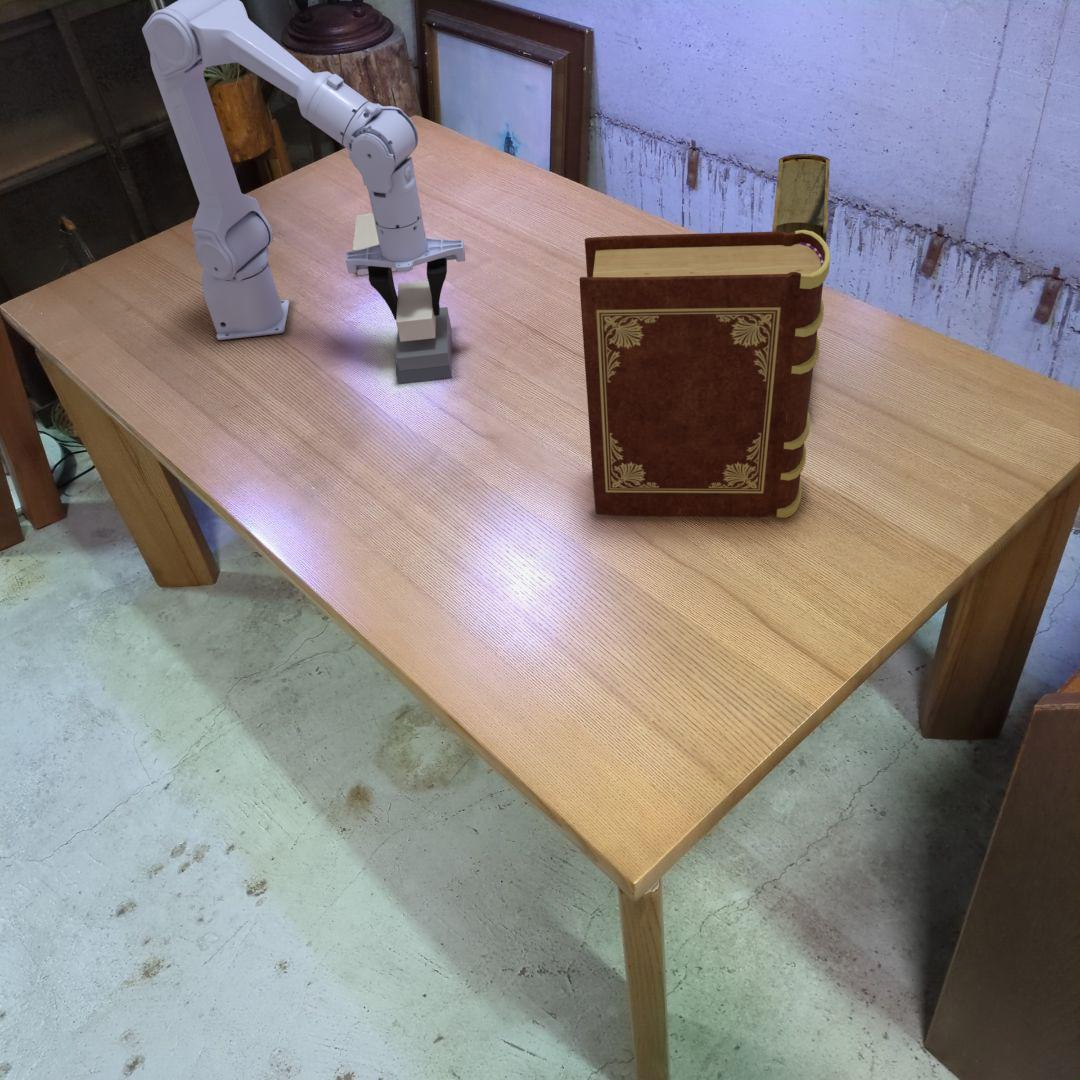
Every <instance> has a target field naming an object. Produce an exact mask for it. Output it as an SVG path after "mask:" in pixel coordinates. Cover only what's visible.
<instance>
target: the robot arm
mask: <svg viewBox="0 0 1080 1080" xmlns="http://www.w3.org/2000/svg"><path fill="white" fill-rule="evenodd" d="M141 31H142V34H143V38H144V39H145V43H146V46H147V48H148V51H149V56H150V57H149V59H150V66H151V69H152V70H151V71H152V73H153V75H154V79H155V81H156V84H157V87H158V89H159V92H160V96H161V98H162V101H163V105H164V106H165V110H166V112H167V115H168V119H169V121H170V123H171V126H172V129H173V132H174V134H175V137H176V140H177V143H178V146H179V149H180V152H181V154H182V157H183V161H184V163H185V165H186V169H187V171H188V174H189V177H190V180H191V182H192V186H193V188H194V191H195V193H196V196H197V199H198V202H199V205H198V208H197V210H196V213H195V216H194V219H193V221H192V224H191V229H190V230H191V232H192V234H193V238H194V248H193V249H194V254H195V257H196V260H197V261H198V262H197V263H199V265H200V266H201V268H202V269H203V270H202V273H201V288H202V289H201V290H202V294H203V297H204V302H205V304H206V306H207V309H208V312H209V315H210V318H211V320H212V323H213V326H214V329H215V331H216V339H217V340H218V341H224V340H233V339H243V338H251V337H252V338H253V337H261V336H268V335H278V334H283V333H284V332H285V331H286V325H287V320H288V314H289V309H290V305H291V304H290V303H291V302H290V300H289V299H282V300H281V299H280V296H279V292H278V289H277V286H276V282H275V278H274V276H273V272H272V269H271V266H270V262H269V256H270V255H271V253H270V250H269V246H270V245H271V244H272V242H273V238H274V235H273V234H274V233H273V229H272V227H271V224H270V222H269V220H268V219H267V218H266V216H265V215H264V214H263V211H262V210H261V208H260V204H259V202H258V200H257V199H256V198H255V197H253V196H250V195H249V194H245V193H242V191H241V188H240V184H239V182H238V179H237V175H236V171H235V169H234V166H233V163H232V160H231V157H230V154H229V150H228V147H227V143H226V141H225V139H224V134H223V132H222V129H221V125H220V122H219V120H218V117H217V116H218V115H217V112H216V110H215V108H214V104H213V101H212V98H211V95H210V92H209V89H208V88H209V87H208V86H207V82H206V79H205V77H204V72H205V70H206V69H207V68H209V67H215V66H221V65H227V64H235V63H237V64H239V65H241V66H242V67H244V68H246V69H247V70H248V71H250V72H252V73H254V74H255V75H257V76H258V77H260V78H261V79H263V80H264V81H267V82H268V83H269V84H271V85H273V86H274V87H276V88H278V89H279V90H281V91H283V92H284V93H286V94H287V95H289V96H291V97H292V98H294V99H295V100H296V102H297V106H298V109H299V112H300V115H301V116H302V117H303V119H305V120H307V121H308V122H310V123H311V124H312V125H313V126H315V127H316V128H317V129H319V130H320V131H322V132H323V133H325V134H326V135H328V136H329V137H330V138H332V139H333V140H335V141H336V142H337V143H339V144H340V145H341V146H343V147H344V148H345V149H346V150H348V151H347V154H348V156H349V159H350V161H351V163H352V165H353V167H355V169H356V170H357V171H358V172H359V174H360V176H361V178H362V182H363V185H364V186H365V187H366V189H367V193H368V197H369V202H370V205H371V206H370V207H371V211H372V213H373V216H374V221H375V226H376V230H377V235H378V240H379V244H378V245H375V246H371V247H368V248H364V249H361V250H357V251H352V250H351V251H346V253H345V264H346V268H347V272H348V273H347V274H351V275H352V274H357V271H358V270H363V269H368V272H369V274H368V282H369V284H370V285H371V287H372V288H373V289H374V290H375V291H376V292H377V293H378V294H379V295H380V296H381V298H382V299H383V300H384V302H385V303H386V305H387V306H388V308H389V310H390V312H391V314H392V317H393V319H394V320H395V321H396V316H397V299H398V292H397V290H396V287H395V282H394V281H395V280H394V275H393V272H392V269H391V268H396V271H395V272H397V273H401V272H410V271H413V269H414V267H416V266H419V265H422V264H426V278H427V280H428V282H429V286H430V291H431V296H432V306H433V311H434V316H438V315H440V308H441V307H440V306H441V305H440V301H441V294H442V289H443V286H444V283H445V281H446V278H447V273H448V261H453V260H456V262H457V263H462V262H465V261H466V250H465V244H464V243H465V241H464V239H443V238H442V239H441V238H429V237H427V235H426V231H425V223H424V218H423V213H422V207H421V202H420V196H419V191H418V186H417V179H416V174H415V167H414V163H413V158H412V154H413V153H414V152H415V150H416V149H417V147H418V143H419V133H418V130H417V127H416V125H415V123H414V122H413V120H412V119H411V118H410V116H408V115H407V114H406V113H405V112H404V111H403V110H402V108H399V107H397V106H394V105H393V106H392V105H386V106H385V105H381V104H380V103H373V102H371V101H370V100H369V99H367V98H365V97H364V96H363V95H362V94H361V93H359V92H357V91H356V90H355V89H353V88H352V87H350V86H349V85H348V84H346V83H345V82H344V79H343V78H342V77H341V76H339V75H338V74H336V73H334V74H333V73H331V72H330V71H321V72H312V71H311V70H310V69H309V68H308V67H306V66H305V65H304V64H303V63H302V62H301V61H299V60H298V58H296V57H295V56H294V55H292V54H291V53H290V52H289V51H287V50H286V49H285V48H284V47H283V46H281V45H280V44H279V43H278V42H277V41H275V40H274V39H273V37H271V36H270V35H268V34H267V33H266V32H265V31H264V30H262V29H261V28H260V27H259V26H258V25H256V24H255V23H254V22H253V21H252V20H250V18H249V16H248V12H247V9H246V7H245V5H244V3H243V2H242V1H241V0H176V1H175V2H173V3H171V4H169V5H168V6H166V7H164V8H162V9H158V10H156V11H154V12H152V13H151V15H150V16H149V18H148V19H147V21H146V22H145V23H144V25H143V26H142V28H141Z"/></svg>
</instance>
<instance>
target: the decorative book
mask: <svg viewBox="0 0 1080 1080" xmlns="http://www.w3.org/2000/svg"><path fill="white" fill-rule="evenodd" d="M584 250H585V251H584V252H585V267H586V276H580V277H579V297H580V312H581V314H580V315H581V327H582V342H583V343H582V344H583V357H584V358H583V359H584V370H585V371H584V372H585V385H586V386H585V387H586V399H587V400H586V402H587V414H588V431H589V443H590V459H591V460H590V461H591V473H592V488H593V501H594V512H595V514H596V515H602V516H615V517H616V516H620V517H724V518H725V517H727V518H728V517H730V518H731V517H733V518H734V517H737V518H739V517H740V518H741V517H743V518H744V517H745V518H749V517H750V518H751V517H753V518H754V517H756V518H757V517H758V518H763V517H764V518H766V517H768V516H769V515H771V516H774V517H775V518H781V519H786V518H788V517H791V516H793V515H794V514H795V512H796V511H797V510H799V507H800V504H801V501H802V492H803V491H802V490H803V483H802V480H801V473H802V472H803V470H804V468H805V465H806V461H807V447H806V441H807V439H808V437H809V434H810V429H811V428H810V427H811V416H810V412H809V405H810V397H811V390H812V389H811V387H812V381H813V380H812V379H813V372H814V367H815V366H816V364H817V361H818V359H819V354H820V339H819V336H818V331H819V329H820V327H821V325H822V323H823V321H824V313H825V312H824V311H825V303H824V300H823V298H822V297H823V287H824V282H825V281H826V279H827V278H828V275H829V274H830V273H829V272H830V264H831V251H830V248H829V245H828V244H827V242H826V243H825V241H824V240H823V239H822V238H821V237H820V236H819V235H817V234H816V233H814V232H812V231H807V230H799V231H794V232H792V233H785V232H783V231H779V232H772V231H749V232H748V231H746V232H742V231H741V232H712V233H711V232H710V233H708V232H707V233H674V234H639V235H638V234H637V235H634V234H633V235H611V236H610V235H608V236H593V237H586V238H584Z"/></svg>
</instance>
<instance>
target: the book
mask: <svg viewBox="0 0 1080 1080" xmlns="http://www.w3.org/2000/svg"><path fill="white" fill-rule="evenodd" d="M777 168H778V169H777V179H776V188H775V200H774V208H773V220H772V227H771V228H772V231H771V232H779V231H783V232H785V233H792V232H794V231H799V230H807V231H812V232H814V233H816V234H817V235H819V236H820V237H821V238H822V239H823V240H824V241H825V243H826V244H827V236H828V226H829V225H828V223H829V222H828V221H829V191H830V159H829V158H828V157H826V156H823V155H818V154H813V153H812V154H811V153H798V154H797V153H795V154H790V155H786V156H783V157H781V158H779V159H778V167H777Z"/></svg>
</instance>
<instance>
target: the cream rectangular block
mask: <svg viewBox="0 0 1080 1080" xmlns="http://www.w3.org/2000/svg"><path fill="white" fill-rule="evenodd" d="M397 297H398V299H397V316H396V320H395V321H396V322H395V323H396V328H397V331H398V333H399V338H400V342H403V341H412V340H421V339H431V338H435V336H436V316H434V311H433V306H432V296H431V291H430V286H429V282H428V279H427V280H419V281H409V282H408V281H407V282H399V283H398V284H397Z"/></svg>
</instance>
